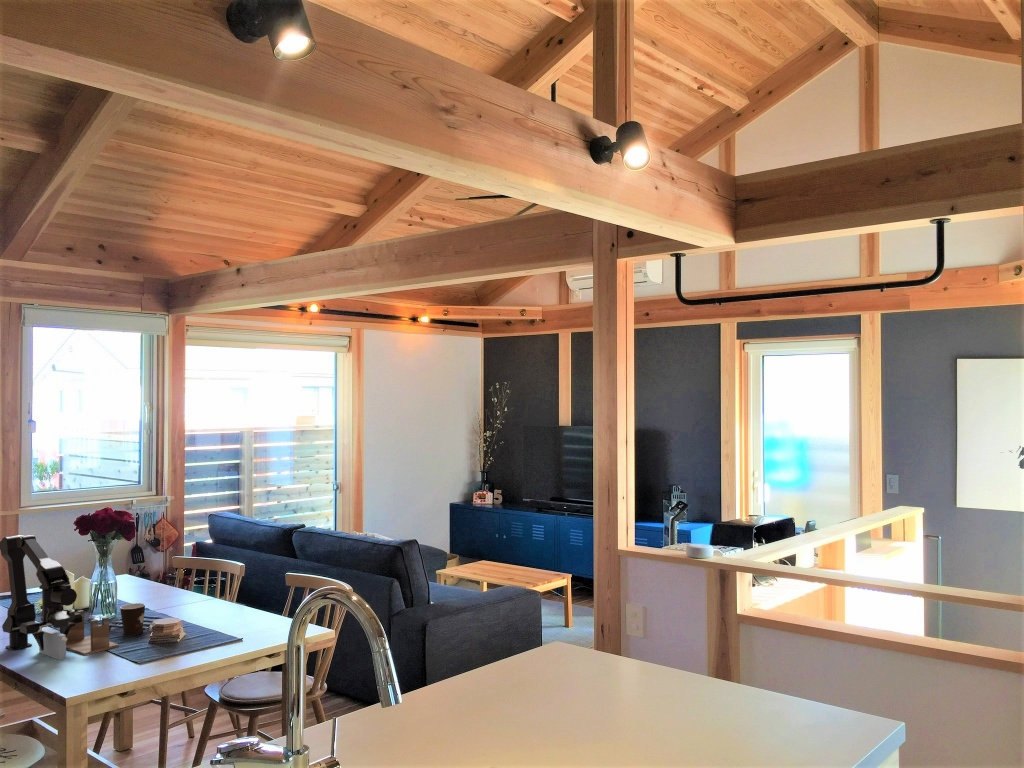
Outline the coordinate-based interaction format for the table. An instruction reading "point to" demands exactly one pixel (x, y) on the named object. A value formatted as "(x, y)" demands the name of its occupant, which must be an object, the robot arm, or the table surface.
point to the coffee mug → (132, 618)
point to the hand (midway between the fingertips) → (52, 647)
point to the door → (54, 644)
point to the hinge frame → (89, 637)
